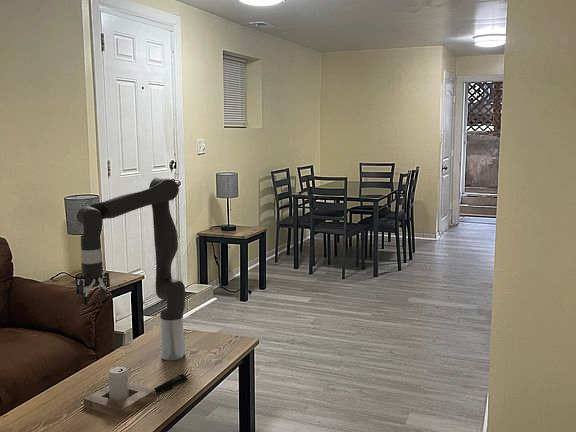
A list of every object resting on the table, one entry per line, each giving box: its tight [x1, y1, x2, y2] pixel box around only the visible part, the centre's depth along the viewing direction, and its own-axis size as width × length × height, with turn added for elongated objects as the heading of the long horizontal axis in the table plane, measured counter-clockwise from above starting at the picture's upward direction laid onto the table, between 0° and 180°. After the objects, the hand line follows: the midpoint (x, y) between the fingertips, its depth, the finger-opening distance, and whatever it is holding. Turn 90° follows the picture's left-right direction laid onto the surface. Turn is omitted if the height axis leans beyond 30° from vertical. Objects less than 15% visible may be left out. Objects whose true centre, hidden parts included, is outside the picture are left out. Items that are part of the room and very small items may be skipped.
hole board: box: [82, 381, 156, 419], centre depth 200 cm, size 17×17×3 cm
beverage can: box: [107, 366, 129, 402], centre depth 199 cm, size 6×6×12 cm
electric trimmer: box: [153, 373, 189, 394], centre depth 213 cm, size 4×16×3 cm, turn 146°
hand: (94, 302), depth 216 cm, fingers open, 8 cm apart
